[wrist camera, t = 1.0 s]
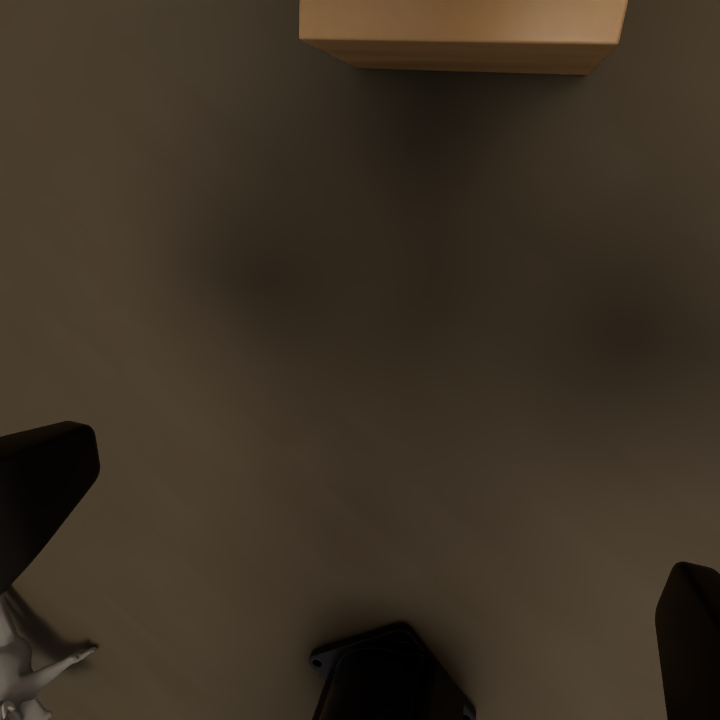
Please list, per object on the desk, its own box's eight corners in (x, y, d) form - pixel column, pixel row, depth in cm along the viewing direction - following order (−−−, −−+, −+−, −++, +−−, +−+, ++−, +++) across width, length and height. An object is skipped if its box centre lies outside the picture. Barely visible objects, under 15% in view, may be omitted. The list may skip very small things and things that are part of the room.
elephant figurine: (43, 554, 31) (95, 703, 29) (76, 546, 37) (121, 671, 35) (-150, 643, 28) (-103, 812, 27) (-82, 619, 34) (-40, 758, 32)
